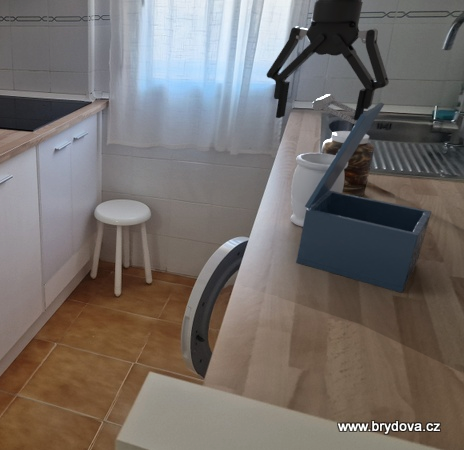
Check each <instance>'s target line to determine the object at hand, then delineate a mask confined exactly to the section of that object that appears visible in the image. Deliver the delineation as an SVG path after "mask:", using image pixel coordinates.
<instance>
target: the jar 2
mask: <svg viewBox="0 0 464 450" xmlns="http://www.w3.org/2000/svg"><path fill="white" fill-rule="evenodd" d="M350 132H351V130H337V131H333V132H332V133H331V137H330V138H327V139H325V140H324V141H323V144H322V146H321V151H320V153H323V154H330V155H335V156H336V155H337V153H338V151H339V150H340V148H341V147H342V145H343V143H344V142H345V140H346V138H347V137H348V135H349V134H350ZM369 140H370V135H368V134H367V133H366V134H365V136H364V137H363V139H362V140H361V142H360V144H359V145H358V147H357V148H356V150H355V151H354V153H353V155H352V156H351V158H350V159H349V161H348V166H347V167H346V168H345V169H344V186H343V191H342V193H344V194H349V195H354V196H359V197H363V196H364V195H365V192H366V189H367V184H368V180H369V176H370V172H371V166H372V163H373V158H374V153H375V152H374V151H375V145H374V144H373V143H372V142H369Z"/></svg>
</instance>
